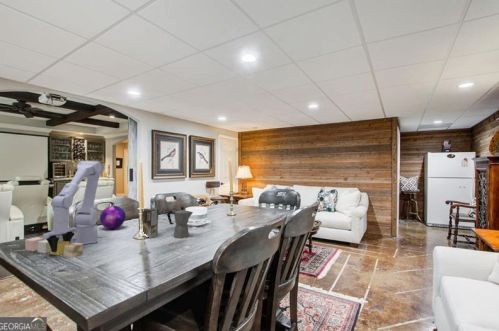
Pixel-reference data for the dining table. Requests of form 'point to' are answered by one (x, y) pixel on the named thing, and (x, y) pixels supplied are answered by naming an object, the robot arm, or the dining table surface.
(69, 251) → the maple block
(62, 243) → the mustard block
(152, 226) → the coffee box
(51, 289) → the dining table surface
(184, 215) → the coffeepot
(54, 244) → the robot arm
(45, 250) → the grey block
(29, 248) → the pink block
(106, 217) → the decorative orb
